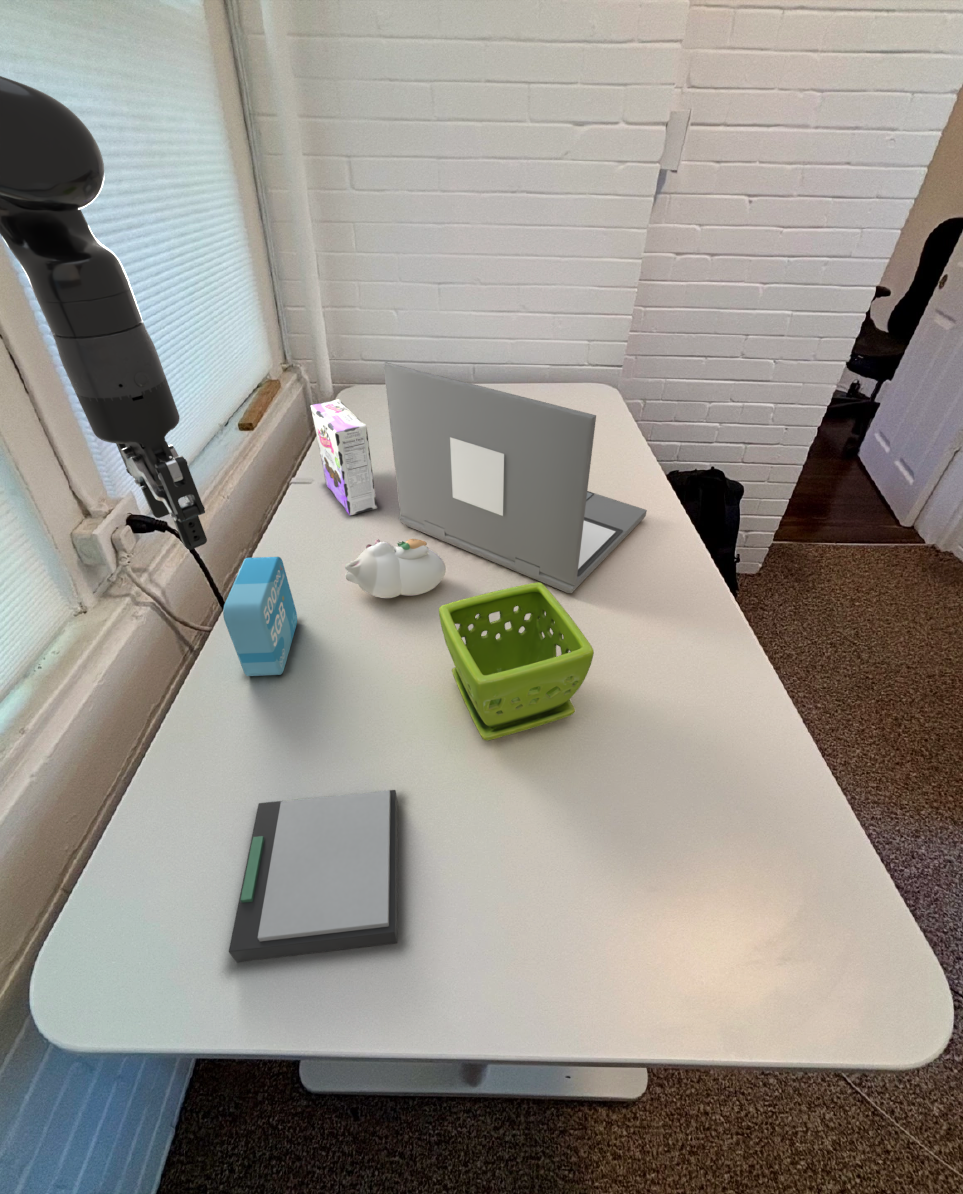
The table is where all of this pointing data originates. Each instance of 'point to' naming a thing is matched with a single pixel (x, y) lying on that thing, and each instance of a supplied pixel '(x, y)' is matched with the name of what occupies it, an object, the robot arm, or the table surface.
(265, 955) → the scale
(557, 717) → the flower pot
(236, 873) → the table surface
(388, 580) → the cat figurine
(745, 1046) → the table surface
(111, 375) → the robot arm
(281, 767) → the table surface
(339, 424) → the candy box
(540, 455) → the laptop
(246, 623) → the blue rounded block
